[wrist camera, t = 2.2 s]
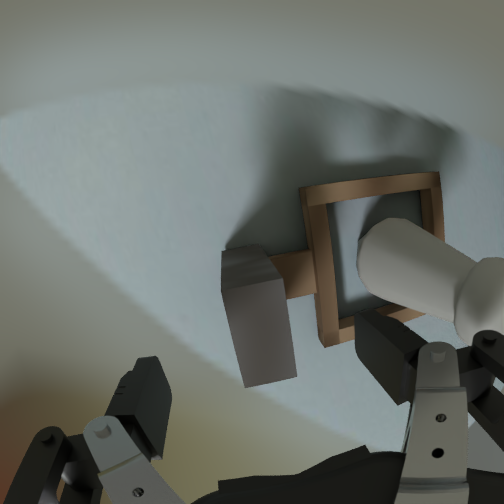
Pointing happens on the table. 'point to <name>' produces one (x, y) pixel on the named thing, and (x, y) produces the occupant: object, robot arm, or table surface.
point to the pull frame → (306, 278)
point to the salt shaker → (432, 277)
